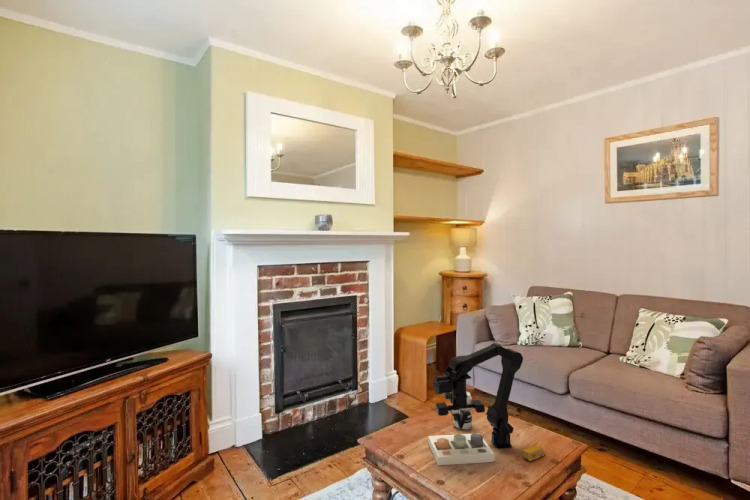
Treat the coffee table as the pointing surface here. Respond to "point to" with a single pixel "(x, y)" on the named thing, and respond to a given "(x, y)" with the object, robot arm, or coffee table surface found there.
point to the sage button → (459, 441)
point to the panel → (460, 451)
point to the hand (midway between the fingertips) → (460, 428)
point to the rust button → (442, 444)
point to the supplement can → (469, 420)
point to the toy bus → (533, 453)
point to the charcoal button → (476, 440)
